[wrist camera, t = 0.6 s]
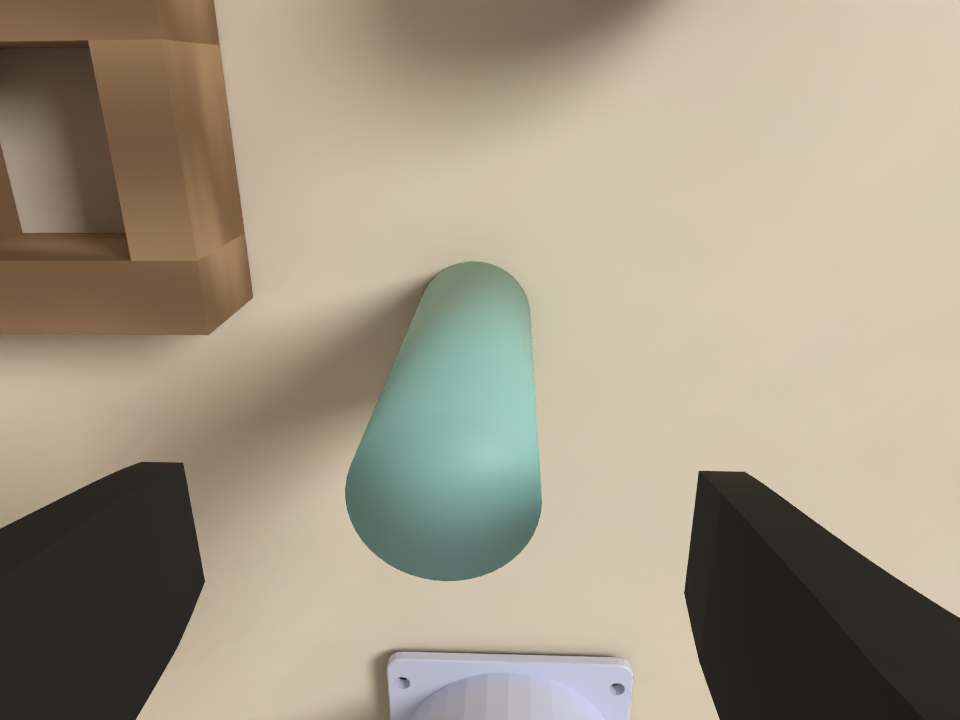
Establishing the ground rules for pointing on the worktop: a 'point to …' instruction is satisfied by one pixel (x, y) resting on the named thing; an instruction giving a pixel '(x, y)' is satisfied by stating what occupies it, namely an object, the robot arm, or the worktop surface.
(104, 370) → the worktop surface
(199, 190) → the hole block
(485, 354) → the peg
